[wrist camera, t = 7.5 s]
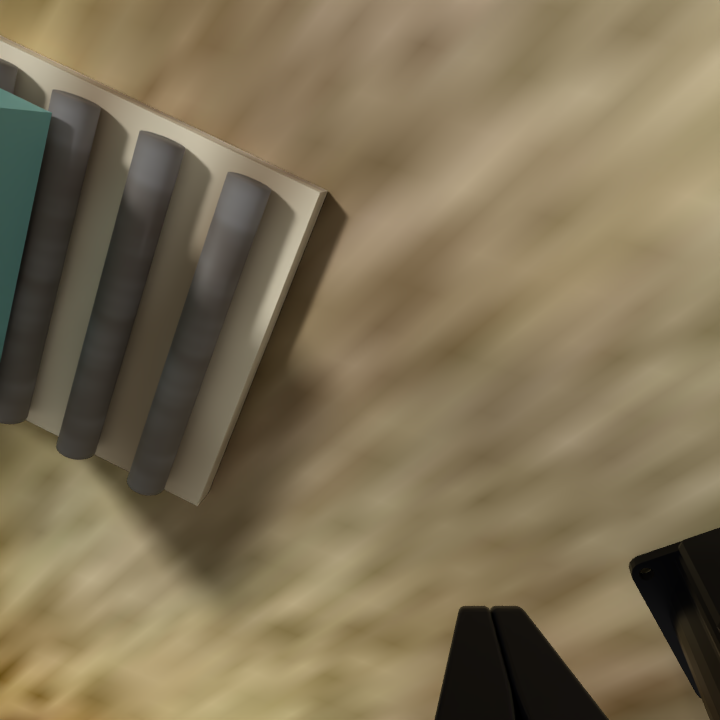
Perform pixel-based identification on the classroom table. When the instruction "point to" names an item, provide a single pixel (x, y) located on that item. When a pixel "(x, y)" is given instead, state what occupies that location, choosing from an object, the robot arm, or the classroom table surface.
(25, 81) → the roller track
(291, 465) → the classroom table surface
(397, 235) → the classroom table surface
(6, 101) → the teal l-shaped block
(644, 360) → the classroom table surface
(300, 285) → the classroom table surface
